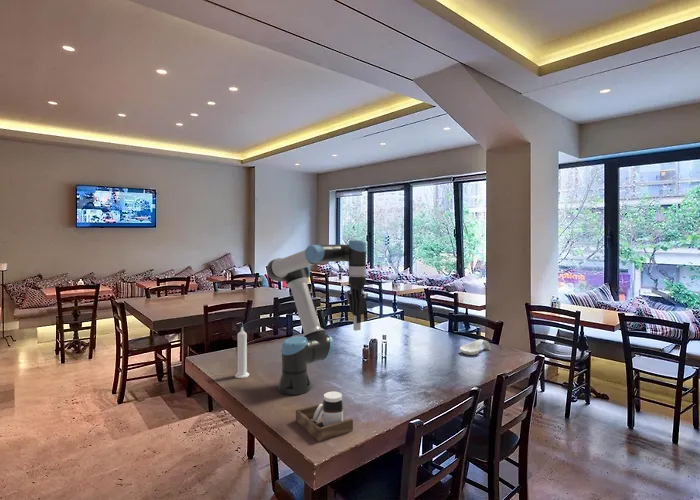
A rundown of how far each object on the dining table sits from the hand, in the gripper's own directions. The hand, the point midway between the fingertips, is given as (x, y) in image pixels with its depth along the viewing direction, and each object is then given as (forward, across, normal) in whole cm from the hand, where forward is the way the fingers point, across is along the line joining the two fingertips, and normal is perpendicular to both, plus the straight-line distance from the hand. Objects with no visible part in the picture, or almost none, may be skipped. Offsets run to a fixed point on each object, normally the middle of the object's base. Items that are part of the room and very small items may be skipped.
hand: (357, 329), depth 172 cm
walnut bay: (+30, -13, +24) cm, 41 cm away
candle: (+31, +55, +33) cm, 71 cm away
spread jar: (+31, -14, +22) cm, 40 cm away
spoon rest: (+31, +19, -102) cm, 108 cm away
